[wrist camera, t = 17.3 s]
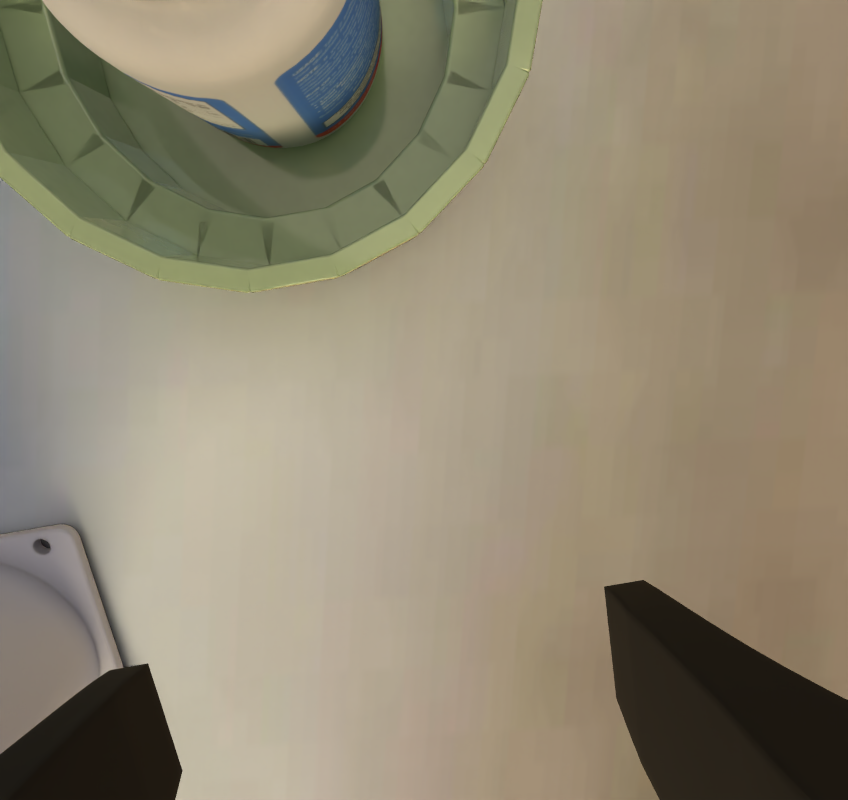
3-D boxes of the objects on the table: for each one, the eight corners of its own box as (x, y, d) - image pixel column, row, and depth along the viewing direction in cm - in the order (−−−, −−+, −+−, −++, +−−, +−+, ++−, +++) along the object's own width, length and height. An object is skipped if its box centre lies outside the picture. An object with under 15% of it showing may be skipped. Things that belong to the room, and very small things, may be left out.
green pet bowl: (118, 310, 18) (12, 334, 13) (-25, -184, 15) (-229, -388, 10) (530, 238, 18) (578, 236, 13) (467, -273, 15) (498, -524, 10)
